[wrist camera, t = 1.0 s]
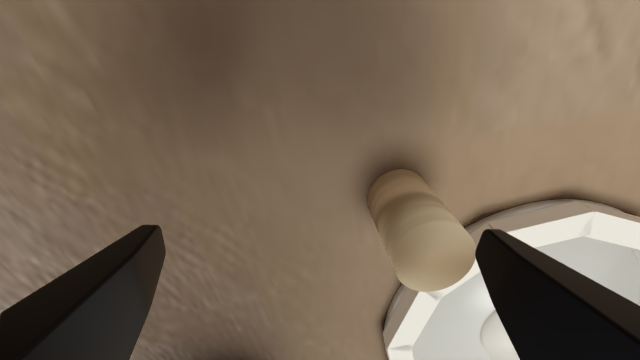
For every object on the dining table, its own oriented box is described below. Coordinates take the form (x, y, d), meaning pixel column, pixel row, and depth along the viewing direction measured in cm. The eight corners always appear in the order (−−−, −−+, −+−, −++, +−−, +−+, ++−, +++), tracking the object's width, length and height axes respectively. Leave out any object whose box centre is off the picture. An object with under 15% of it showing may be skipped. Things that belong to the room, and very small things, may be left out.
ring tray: (550, 409, 38) (566, 434, 36) (346, 387, 33) (350, 414, 31) (717, 234, 28) (754, 253, 26) (461, 165, 23) (480, 181, 21)
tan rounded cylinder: (412, 227, 25) (453, 297, 19) (358, 215, 24) (382, 284, 18) (437, 177, 23) (491, 235, 17) (380, 162, 23) (415, 218, 16)
